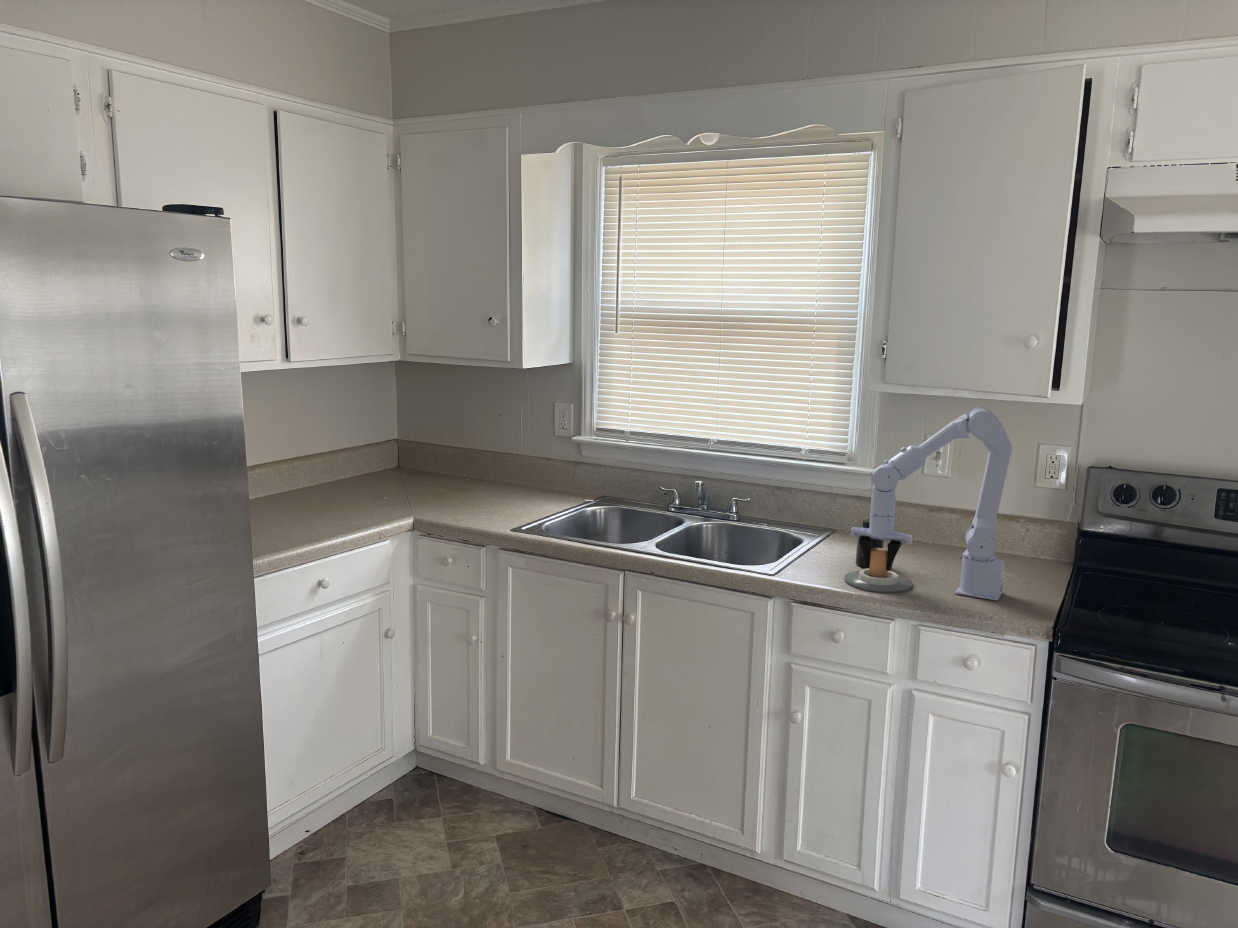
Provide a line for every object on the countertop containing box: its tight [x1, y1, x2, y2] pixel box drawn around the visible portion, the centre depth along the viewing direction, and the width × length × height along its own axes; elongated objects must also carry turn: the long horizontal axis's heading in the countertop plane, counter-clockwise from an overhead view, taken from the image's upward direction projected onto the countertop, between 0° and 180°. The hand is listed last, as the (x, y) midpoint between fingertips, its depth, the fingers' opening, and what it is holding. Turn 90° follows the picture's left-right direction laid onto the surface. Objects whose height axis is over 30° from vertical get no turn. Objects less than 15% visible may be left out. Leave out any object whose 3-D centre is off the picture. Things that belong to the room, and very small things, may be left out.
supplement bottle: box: [855, 518, 885, 569], centre depth 236 cm, size 7×7×12 cm
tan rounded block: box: [869, 548, 888, 577], centre depth 221 cm, size 4×4×6 cm
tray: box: [843, 568, 913, 594], centre depth 222 cm, size 16×16×2 cm
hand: (878, 568), depth 222 cm, fingers closed on tan rounded block, 4 cm apart
